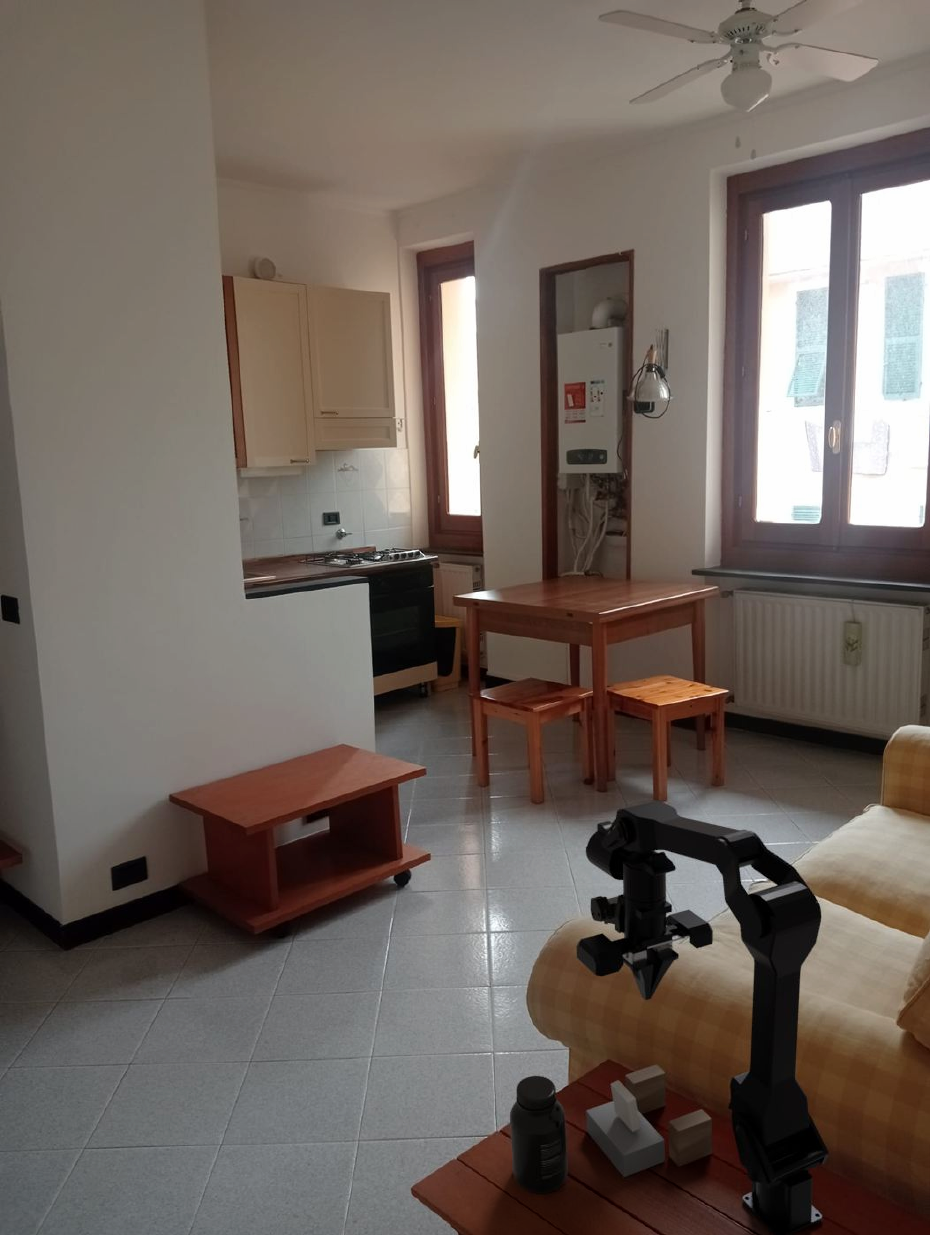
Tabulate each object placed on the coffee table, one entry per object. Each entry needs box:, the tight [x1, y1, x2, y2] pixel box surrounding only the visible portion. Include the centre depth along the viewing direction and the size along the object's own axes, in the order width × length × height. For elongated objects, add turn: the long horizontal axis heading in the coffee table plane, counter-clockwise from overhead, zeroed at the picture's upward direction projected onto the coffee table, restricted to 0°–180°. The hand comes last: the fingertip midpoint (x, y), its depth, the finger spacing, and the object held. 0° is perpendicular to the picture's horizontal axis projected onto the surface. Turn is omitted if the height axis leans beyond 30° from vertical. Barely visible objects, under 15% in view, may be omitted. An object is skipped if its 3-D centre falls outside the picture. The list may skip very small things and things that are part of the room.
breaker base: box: [585, 1100, 666, 1178], centre depth 122 cm, size 9×6×3 cm, turn 23°
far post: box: [624, 1064, 666, 1115], centre depth 129 cm, size 2×5×5 cm, turn 113°
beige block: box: [668, 1108, 713, 1167], centre depth 119 cm, size 2×5×5 cm, turn 113°
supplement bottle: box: [509, 1075, 569, 1194], centre depth 117 cm, size 7×7×12 cm
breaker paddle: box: [610, 1079, 640, 1132], centre depth 121 cm, size 4×1×4 cm, turn 23°
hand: (646, 998), depth 131 cm, fingers closed
